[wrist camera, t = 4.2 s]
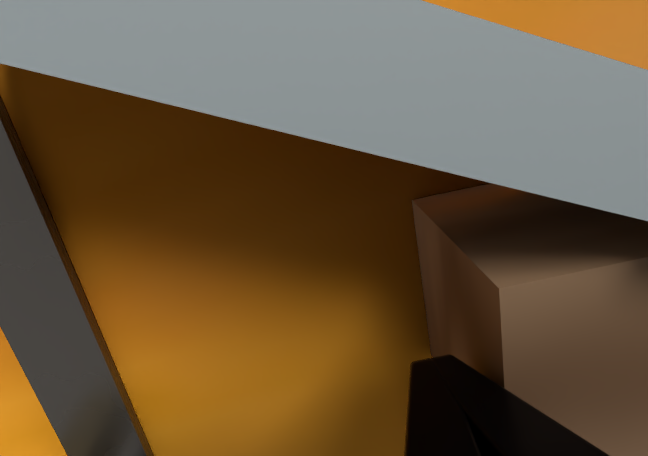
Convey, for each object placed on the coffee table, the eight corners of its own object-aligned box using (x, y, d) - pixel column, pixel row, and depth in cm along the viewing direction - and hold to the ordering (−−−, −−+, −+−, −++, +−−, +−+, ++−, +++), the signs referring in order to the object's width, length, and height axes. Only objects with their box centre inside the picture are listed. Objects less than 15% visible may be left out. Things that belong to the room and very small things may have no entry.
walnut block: (589, 319, 12) (758, 456, 8) (430, 353, 12) (511, 509, 8) (594, 161, 10) (809, 223, 6) (411, 200, 10) (499, 288, 6)
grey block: (-30, 27, 8) (-472, -40, 3) (-31, -75, 7) (-555, -322, 3) (563, 176, 9) (804, 267, 5) (594, 104, 9) (892, 132, 5)
